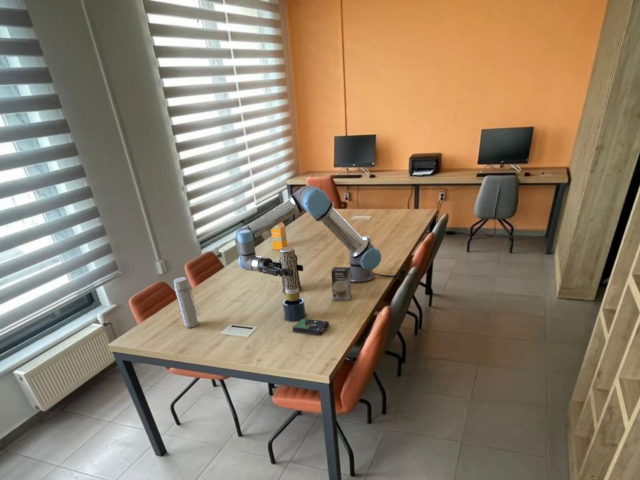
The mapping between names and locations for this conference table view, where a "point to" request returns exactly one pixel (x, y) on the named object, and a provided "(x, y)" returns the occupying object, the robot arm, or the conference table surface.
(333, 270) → the coffee box
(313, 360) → the conference table surface
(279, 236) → the orange juice
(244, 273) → the conference table surface
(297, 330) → the disk drive
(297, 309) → the pen pot
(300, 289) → the beer stein
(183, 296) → the water bottle
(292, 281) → the paper tube
